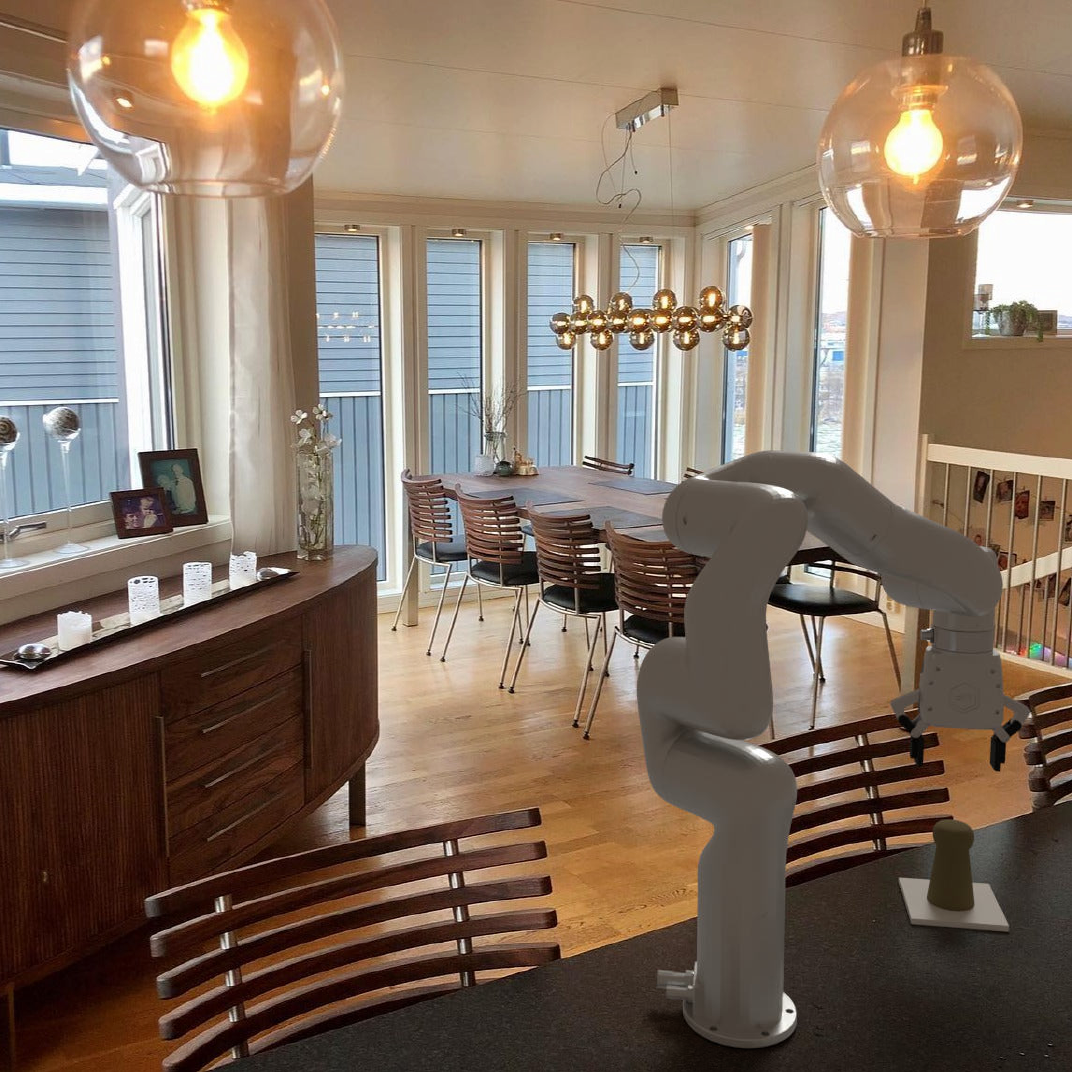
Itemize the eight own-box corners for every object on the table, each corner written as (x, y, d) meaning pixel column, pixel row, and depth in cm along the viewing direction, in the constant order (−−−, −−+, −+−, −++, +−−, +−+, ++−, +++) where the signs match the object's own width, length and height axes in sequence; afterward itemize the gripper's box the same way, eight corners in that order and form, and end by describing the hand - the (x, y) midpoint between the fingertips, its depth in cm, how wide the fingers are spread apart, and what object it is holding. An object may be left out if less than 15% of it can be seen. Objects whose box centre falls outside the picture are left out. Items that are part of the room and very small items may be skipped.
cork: (981, 911, 143) (985, 832, 142) (935, 911, 143) (938, 832, 142) (964, 890, 149) (968, 814, 148) (920, 890, 149) (923, 814, 148)
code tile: (911, 924, 142) (911, 918, 142) (898, 882, 153) (898, 877, 153) (1008, 931, 139) (1009, 925, 139) (988, 889, 151) (988, 883, 151)
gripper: (897, 643, 139) (892, 771, 141) (1040, 649, 136) (1033, 779, 138) (889, 631, 147) (884, 753, 149) (1025, 635, 143) (1018, 760, 146)
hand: (956, 765), depth 144 cm, fingers open, 9 cm apart
